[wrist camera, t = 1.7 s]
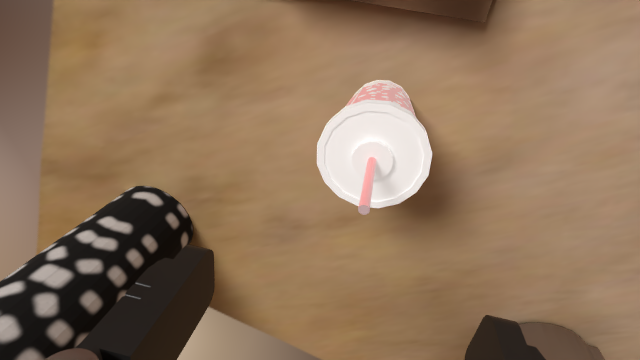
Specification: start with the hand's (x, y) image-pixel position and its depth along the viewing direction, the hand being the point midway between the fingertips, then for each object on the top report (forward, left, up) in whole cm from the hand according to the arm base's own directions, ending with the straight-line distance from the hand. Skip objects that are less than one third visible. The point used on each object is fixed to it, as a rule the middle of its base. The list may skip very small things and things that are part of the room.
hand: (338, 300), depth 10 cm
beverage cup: (0, 0, -19) cm, 19 cm away
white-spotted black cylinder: (+20, +16, -19) cm, 32 cm away
